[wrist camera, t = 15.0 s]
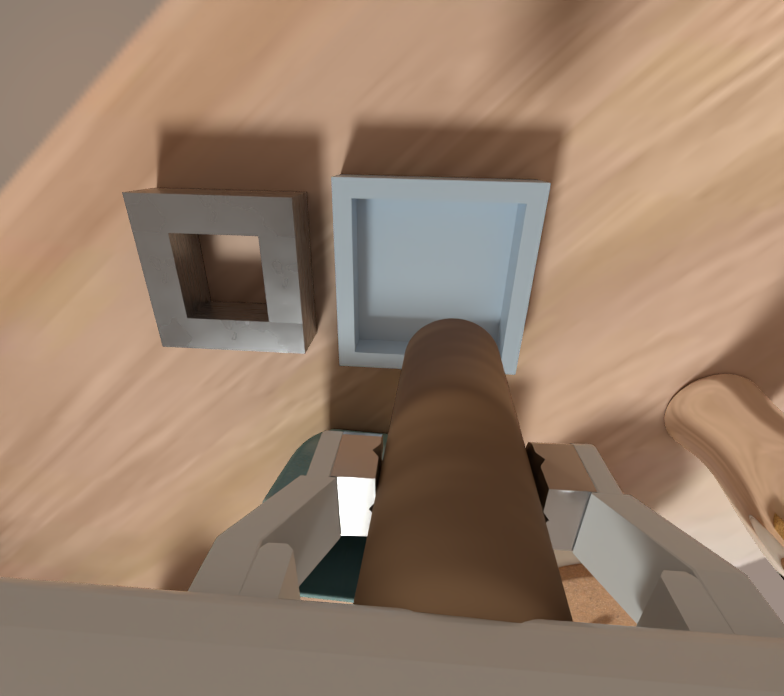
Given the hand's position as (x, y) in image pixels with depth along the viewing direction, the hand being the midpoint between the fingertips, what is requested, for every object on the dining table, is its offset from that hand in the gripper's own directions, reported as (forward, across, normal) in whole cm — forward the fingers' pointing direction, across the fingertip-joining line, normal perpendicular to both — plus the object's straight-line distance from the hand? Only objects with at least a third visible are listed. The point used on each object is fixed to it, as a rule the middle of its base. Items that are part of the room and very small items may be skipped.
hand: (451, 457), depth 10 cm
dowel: (+5, 0, 0) cm, 5 cm away
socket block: (+16, +12, 0) cm, 20 cm away
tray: (+16, 0, 0) cm, 16 cm away
